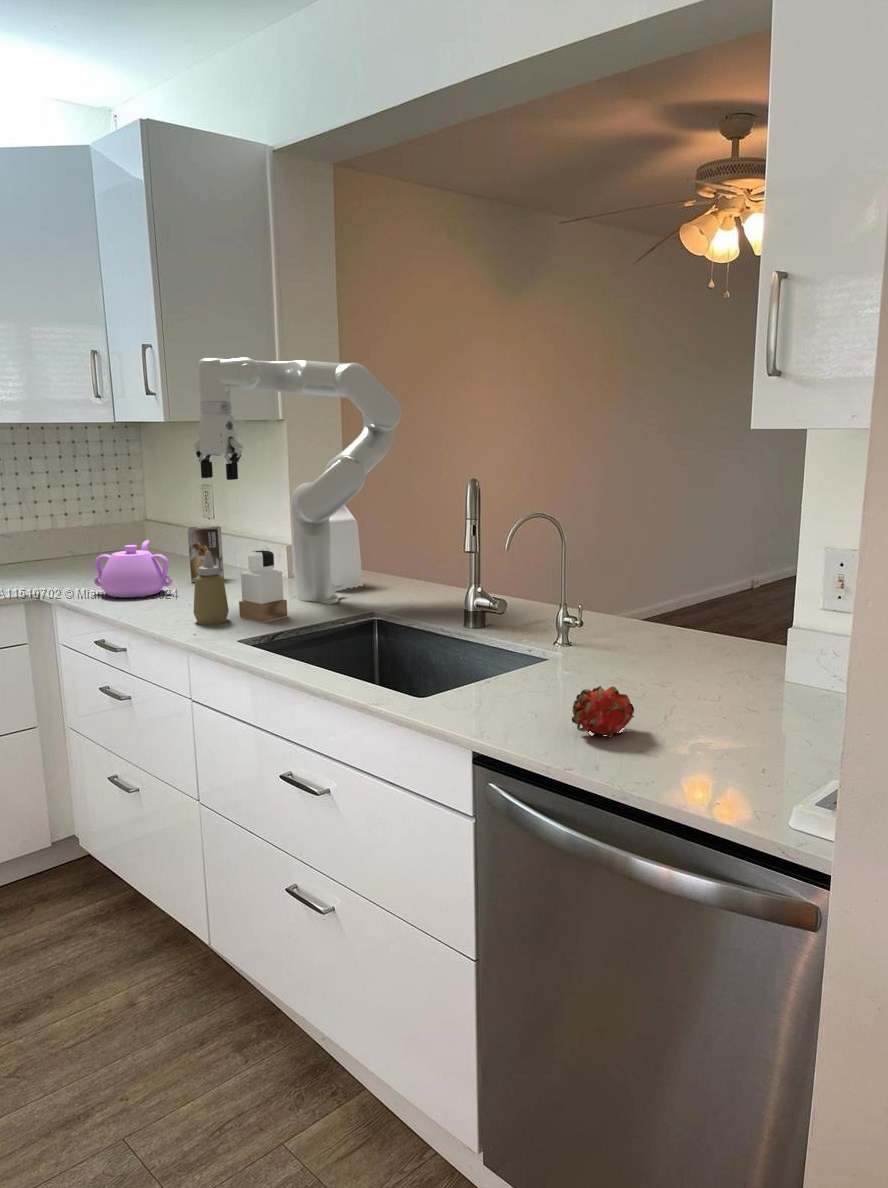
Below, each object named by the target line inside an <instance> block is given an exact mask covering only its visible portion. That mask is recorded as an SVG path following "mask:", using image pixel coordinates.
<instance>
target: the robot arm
mask: <svg viewBox="0 0 888 1188" xmlns="http://www.w3.org/2000/svg"><path fill="white" fill-rule="evenodd" d="M197 370H198V371H197V372H198V373H197V375H198V376H197V377H198V391H199V405H200V406H199V407H200V416H199V426H198V428H199V429H198V435H199V436H198V440H197V442H195V443H194V444H193V447H194V451H195V453H196V457H197V458H198V462H199V463H200V475H201V477H200V478H201V479H209V478H213V477H214V474H213V473H214V472H213V461H212V460H211V459H212V458H213V456H217V457H218V456H219V457H220V456H221V457H222V456H223V457H224V459H225V460H226V462H227V463H225V475H226V480H228V481H233V480H234V481H235V480H238V479H239V471H238V469H239V467H238V464H239V463H240V458H241V457H242V452H243V449H244V447H243V445H242V444H241V443H239V438H238V432H237V431H238V429H237V424H236V420H235V416H234V414H232V408H233V407H232V397H231V387H232V388H238V389H241V390H250V391H251V390H252V391H265V392H266V391H267V392H281V393H286V394H293V395H304V396H306V395H307V396H321V397H331V398H332V397H333V398H335V397H336V398H348V399H349V400H350V401H351V402H352V404H353V405H354V406H355V407H356V408H357V410H359V411H360V412H361V414H362V419H363V428H362V430H361V432H360V434H359V435H358V436H357V437H356V438H355V439H354V440H353V441H352V442H351V443H350V444H349V445H348V446H347V447H346V448H345V449H343V450H342V451H341V452H340V453H339V454H337V455H335V456H334V457H333V458H332V459H331V460H329V462H328V463H327V464H326V466H325V468H324V471H323V473H322V474H320V475H319V476H318V477H317V478H316V479H315V480H314V481H312V482H311V481H310V482H304V483H301V484H300V485H299V486H297V487H296V488H295V489H294V491H293V493H292V496H291V503H290V505H291V516H292V527H293V529H292V531H293V547H294V548H293V549H294V550H293V551H294V553H293V554H294V575H295V577H294V578H295V579H294V581H295V595H293V596H292V597H291V598H293V599H296V600H298V601H301V602H316V603H321V604H328V605H332V604H337V603H338V601H339V597H338V595H336V594H335V593H336V592H338V591H339V592H340V591H342V590H343V589H344V585H343V583H339V584H334V583H332V578H331V546H330V544H331V539H330V522H329V518H330V517H331V516H332V515H333V514H335V513H336V512H337V511H338V510H339V509H340V508H341V507H343V506H344V505H345V506H346V504H347V503H348V502H349V501H351V499H353V498H354V497H355V496H356V495H357V494H358V493H360V492H361V490H362V488H363V487H364V486H365V483H366V479H367V474H368V473H369V472H370V471H372V470H373V468H375V466H377V465H378V464H379V463H380V462H381V461H382V460H383V459H384V458H385V456H386V455H387V454H388V453H389V451H390V449H391V446H392V444H393V442H394V438H395V437H394V434H395V428H397V426H398V425H399V423H400V421H401V419H402V409H401V406H400V403H398V401H397V400H396V398H394V397H393V395H392V394H391V393H390V392H389V391H388V390H387V389H386V388H385V387H384V386H383V385H382V384H381V383H380V381H378V380H377V378H376V377H375V376H374V375H373V374H372V373H371V372H370V371H369V370H368V369H367V367H365V366H364V365H362V364H360V363H357V362H346V363H344V362H343V363H342V362H330V361H329V362H328V361H318V360H317V361H316V360H305V359H299V360H298V359H297V360H296V359H295V360H289V361H267V360H255V359H253V358H250V357H246V356H245V357H237V358H228V359H227V358H226V359H225V358H218V357H216V358H215V357H205V358H204V357H203V358H201V359H199V360H198V363H197ZM344 590H345V589H344Z"/></svg>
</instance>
